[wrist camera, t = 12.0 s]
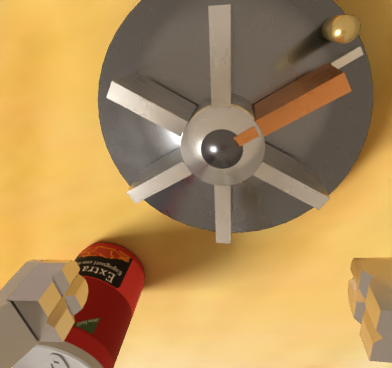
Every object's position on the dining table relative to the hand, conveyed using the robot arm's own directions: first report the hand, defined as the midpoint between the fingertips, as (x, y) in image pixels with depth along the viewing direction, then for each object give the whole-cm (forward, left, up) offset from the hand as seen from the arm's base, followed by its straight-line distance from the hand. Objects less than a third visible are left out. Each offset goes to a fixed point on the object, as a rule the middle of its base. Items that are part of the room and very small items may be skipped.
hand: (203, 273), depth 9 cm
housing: (0, 0, -15) cm, 15 cm away
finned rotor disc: (0, 0, -13) cm, 13 cm away
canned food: (-10, +18, -15) cm, 25 cm away
